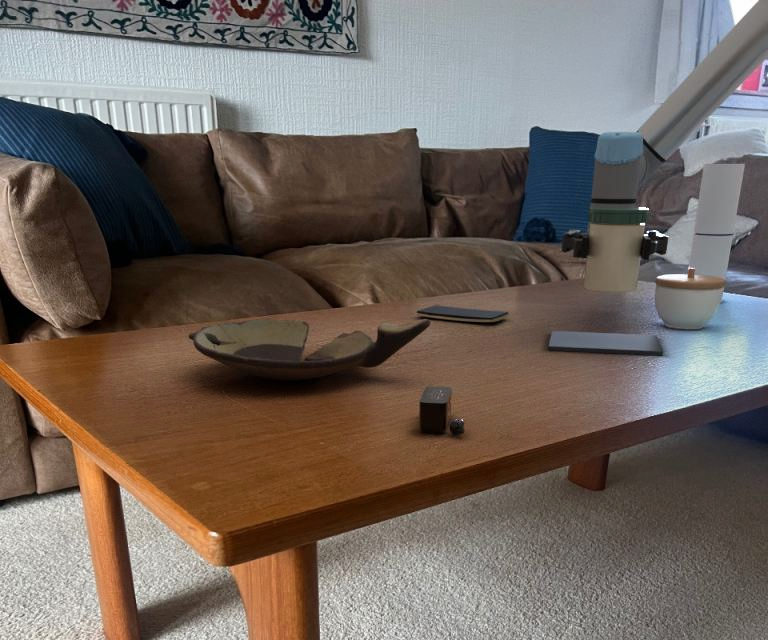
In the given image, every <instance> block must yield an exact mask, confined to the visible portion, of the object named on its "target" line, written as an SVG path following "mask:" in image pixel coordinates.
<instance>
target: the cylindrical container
mask: <svg viewBox="0 0 768 640" xmlns="http://www.w3.org/2000/svg"><path fill="white" fill-rule="evenodd" d="M745 166H746V163H703V169H702V175H701V182H700V188H699V194H698V201H697V209H696V214H695V221H694V229H693V234H692V235H693V236H692V242H691V248H690V249H691V250H690V255H689V261H688V269H687V271H688V270H689V268H695V274H694V275H705V276H713V277H719V278H722V279H724V280H725V281H726V278H727V273H728V266H729V262H730V261H729V260H730V254H731V250H732V249H731V248H732V243H733V237H734V231H735V226H736V219H737V213H738V208H739V203H740V196H741V190H742V185H743V178H744V173H745V172H744V171H745ZM687 275H688V273H687ZM724 290H725V287H724V288H723V292H725V291H724ZM723 297H724V293H723V294H722V299H721V302H720V303H722V302H723Z"/></svg>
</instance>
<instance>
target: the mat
mask: <svg viewBox="0 0 768 640" xmlns="http://www.w3.org/2000/svg"><path fill="white" fill-rule="evenodd" d="M547 347H548V348H547V350H548V351H557V352H577V353H578V352H579V353H581V352H582V353H599V354H600V353H601V354H619V355H639V356H640V355H643V356H663V355H664V354H663V353H664V350H663V348H662V346H661V343H660V340H659V337H658V335H657V334H637V333H636V334H635V333H614V332H613V333H610V332H589V331H587V332H586V331H564V330H563V331H561V330H552V331H551V333H550V338H549V344H548V346H547Z"/></svg>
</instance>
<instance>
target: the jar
mask: <svg viewBox="0 0 768 640" xmlns="http://www.w3.org/2000/svg"><path fill="white" fill-rule="evenodd" d="M645 227H646V223H641V224H607V223H593V222H592V223H590V225H589V238H588V248H587V258H585V265H584V275H583V286H582V288H583V289H584V290H587V291H593V292H600V293H631V292H635V291H637V289H638V281H639V276H640V275H639V274H640V265H641V259H642V257H641V252H642V244H643V236H644V234H645Z"/></svg>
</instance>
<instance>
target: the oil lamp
mask: <svg viewBox="0 0 768 640" xmlns="http://www.w3.org/2000/svg"><path fill="white" fill-rule="evenodd" d="M430 326H431V320H430V319H428V318H424V319H421V320H418V321H416V322H413V323H411V324H409V325H405V326H396V325H394V324H391V323H389V322H381V323H380V324H379V325H378V326H377V330H376V333H377V335H376V341H374V340H373V338H371V337H370V336H369V335H368V334H366V333H364V332H363V331H361V330H354V331H353V332H351V333H347V332H343V333H341V334H339V335H338V336H337V337H334V338H333V339H332V340H331V341H329V342H327V343H325V344H324V345H322V347H320V348H318V349H317V350H314V351H313V352H312V353H310V354H308V355H307V356H305V358H304V360H301V359H302V357H303V353H304V351H305V349H306V344H307V341H308V337H309V332H310V324H309V323H308V322H307V321H301V320H300V321H298V320H293V319H292V320H289V319H270V318H268V319H262V318H261V319H249V320H244V321H240V322H232V323H230V322H227V323H226V322H225V323H222V324H217V325H208V326H203V327H202V328H201V329H200V330H199V329H198V331H195V332H191V333H189V334H188V339H190V340H191V341H192V342H193V345H194V348H195V349H196V350H197V351H198V352H199V353H201V354H202V355H203V356H205V357H207V358H210V359H212V360H214V361H216V362H218V363H220V364H223V365H224V366H225V365H226V366H227V367H230V368H232V369H235V370H238V371H240V372H243V373H246V374H249V375H252V376H256V377H259V378H264V379H268V380H273V381H275V380H276V381H283V382H284V381H288V382H293V381H304V380H312V379H313V380H314V379H317V378H321V377H325V376H330V375H334V374H336V373H340V372H342V371H346V370H348V369H352V368H359V367H360V368H369V369H371V368H376V367H378V366H380V365H382V364H384V363H385V362H386V361H387V360H389V359H390V358H391V357H392V356H394V355H395V354H396V353H397V352H398V351H399V350H401V349H402V348H403V347H405V346H406V345H408V344H410V342H411V341H413V340H414V339H416V338H417V337H418V336H420V335H421V334H422V333H424V332H425V331H426V330H427V329H428V328H429V327H430Z"/></svg>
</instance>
